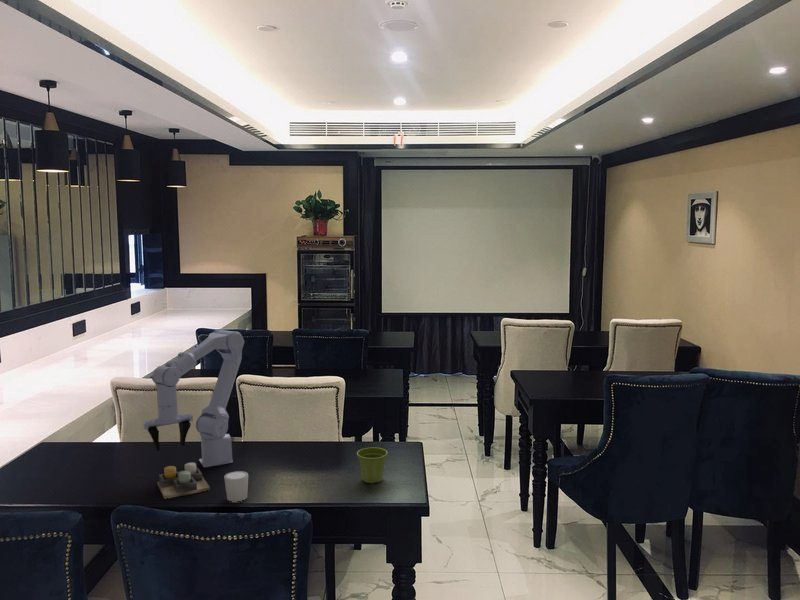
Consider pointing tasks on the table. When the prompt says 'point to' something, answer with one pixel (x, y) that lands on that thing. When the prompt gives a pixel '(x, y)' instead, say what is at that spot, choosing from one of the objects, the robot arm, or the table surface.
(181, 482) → the sage button
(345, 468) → the table surface
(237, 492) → the white cup
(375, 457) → the plant pot
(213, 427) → the robot arm
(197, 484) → the button panel board
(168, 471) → the amber button
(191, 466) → the white small cylinder
